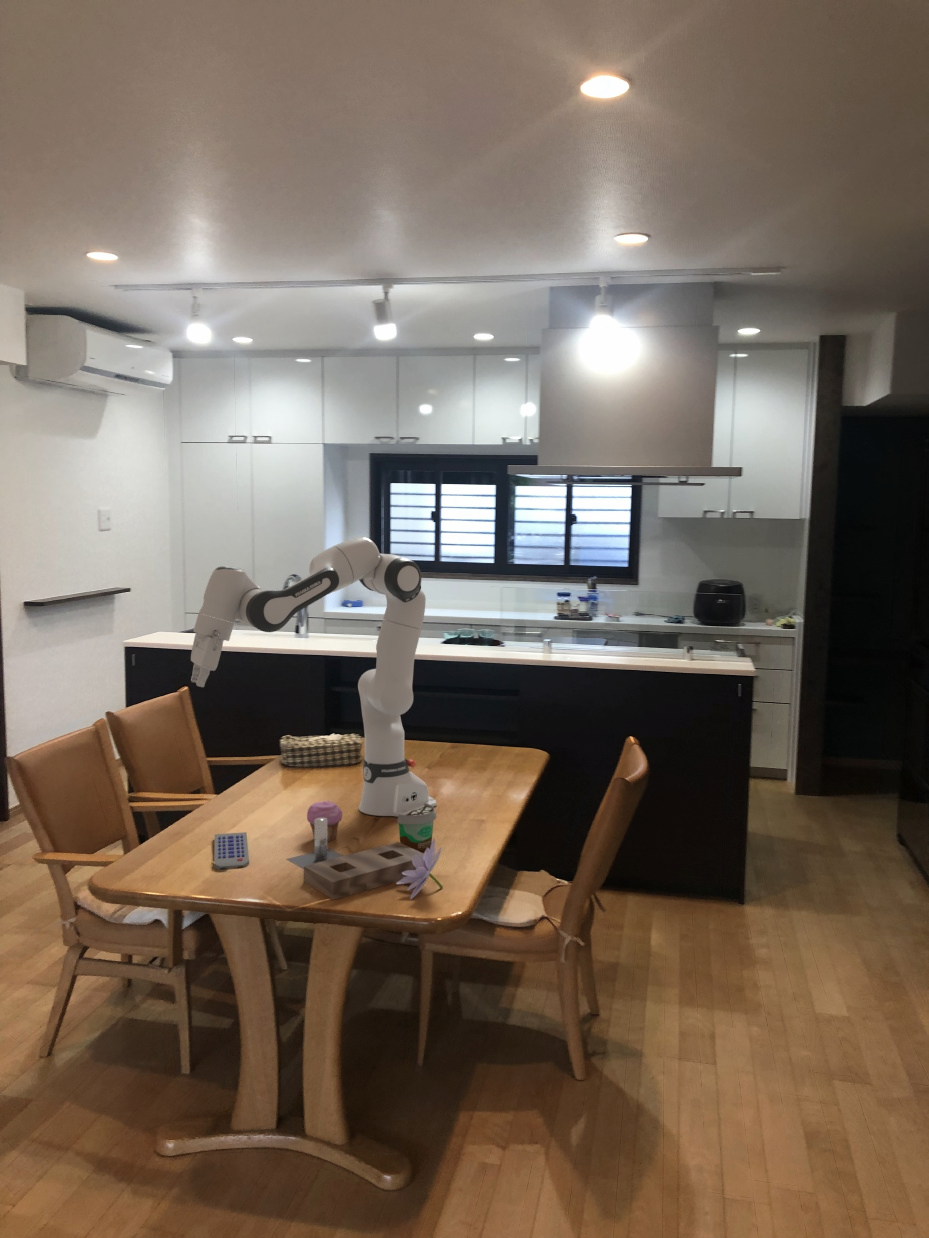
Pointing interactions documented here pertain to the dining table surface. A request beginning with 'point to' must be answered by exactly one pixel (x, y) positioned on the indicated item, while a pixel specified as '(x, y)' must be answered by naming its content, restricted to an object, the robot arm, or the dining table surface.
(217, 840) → the remote control
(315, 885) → the hole block
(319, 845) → the peg
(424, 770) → the dining table surface
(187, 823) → the dining table surface
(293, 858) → the mat
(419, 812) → the food container
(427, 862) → the water lily
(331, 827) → the cupcake
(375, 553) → the robot arm
